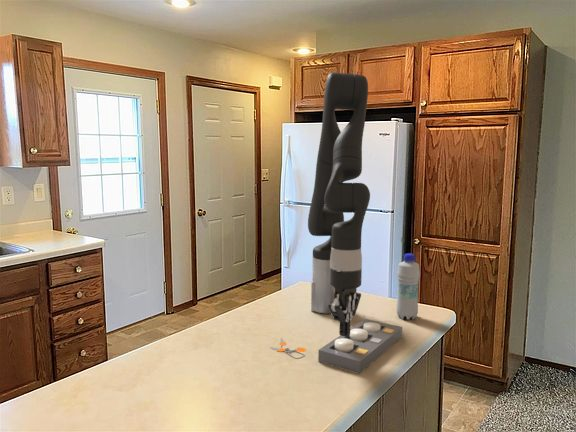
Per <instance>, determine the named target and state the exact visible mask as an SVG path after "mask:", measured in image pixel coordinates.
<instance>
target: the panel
mask: <svg viewBox="0 0 576 432" xmlns="http://www.w3.org/2000/svg"><path fill="white" fill-rule="evenodd" d="M368 322H374V323H378V324H380V326H381V328H380V331H379V332H378V333H376V332H372V331H367V330H366V331H367V332H368V340H367V341H366V342H364V343H363V342H359V341H355V340H352V341H353V342H354V349H353V351H352V352H351V353H349V354H348V353H344V352H340V351H337V350H335V340H337V339H341V338H345V339H350V335H348V336H347V337H345V336H341V335H340V334H339V336H338V337H335V338H334V339H333V340H331V341H330V342H329V343H326V345H324V346H322V347H321V348H319V349H318V357H317V358H318V361H317V362H318V363H322V364H325V365H328V366H332V367H336V368H339V369H342V370H345V371H348V372H352V373H356V374H361V373H362V372H363V371H364V370H366V369H367V368H369V366H370V365H372V364H373V363H374V362H375V361H376V360H377V359H379V358H380V357H381V356H382V355H383V354H384V353H386V352H387V351H388V350H389V349H391V348H392V346H393V345H395V344H396V343H397V342H399V341H400V340H401V339H402V338H403V326H399V325H396V324H390V323H386V322H381V321H377V320H373V319H370V318H369V319H367V318H365V319H363V320H362V321H360V322H358V323H357V324H356V325H354V326H352V327H350V330H352V329H363V325H364V323H368ZM350 340H351V339H350Z"/></svg>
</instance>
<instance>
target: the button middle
mask: <svg viewBox="0 0 576 432" xmlns="http://www.w3.org/2000/svg"><path fill="white" fill-rule="evenodd" d="M350 339H351V340H355V341H359V342H363V343H364V342H366V341H367V340H368V332H367V331H366V330H364V329H352V330H350Z"/></svg>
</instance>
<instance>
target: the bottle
mask: <svg viewBox="0 0 576 432" xmlns="http://www.w3.org/2000/svg"><path fill="white" fill-rule="evenodd" d="M420 276H421V272H420V264H419V263H417V262H416V255H415V254H413V253H410V252H409V253H405V254H404V255H403V261H401V262H399V263H398V267H397V280H398V281H397V282H398V283H397V300H396V301H397V302H396V314H397V317H399V318H400V319H402V320H404V319H405V317H406V320H415V318H416V317H418V313H419V312H418V311H419V302H418V301H419V300H418V298H419V297H418V296H419V281H420Z"/></svg>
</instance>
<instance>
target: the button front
mask: <svg viewBox="0 0 576 432" xmlns="http://www.w3.org/2000/svg"><path fill="white" fill-rule="evenodd" d="M353 349H354V342H353V341H352V340H350V339H345V338H341V339H337V340H335V350H337V351H340V352H344V353H348V354H349V353H351V352H352V351H353Z"/></svg>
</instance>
